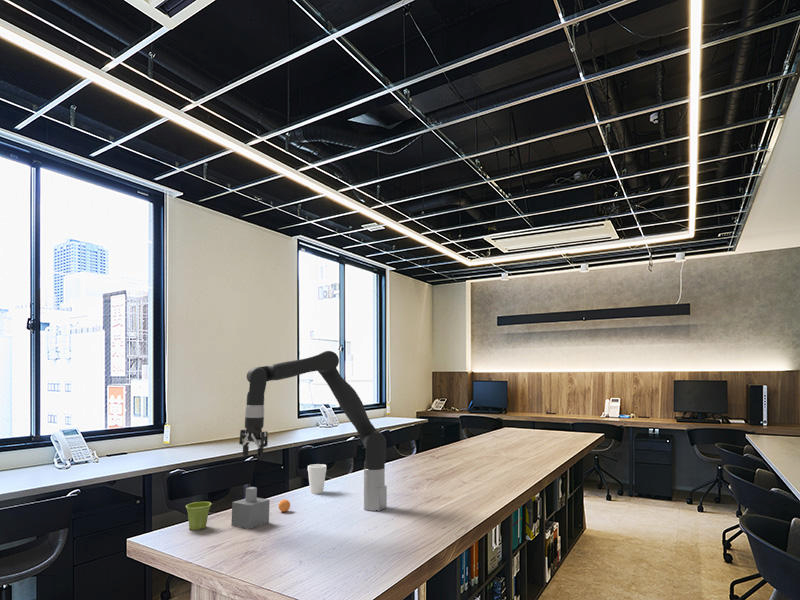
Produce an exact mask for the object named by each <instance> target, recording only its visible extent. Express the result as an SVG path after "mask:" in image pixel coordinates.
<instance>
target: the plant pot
mask: <svg viewBox="0 0 800 600" xmlns="http://www.w3.org/2000/svg"><path fill="white" fill-rule="evenodd" d="M211 506H212V503H211V501H195V502H191V503H188V504H185V508H186V511H187V519H188V528H189V530H192V531H198V530H201V529H205V528H206V527H207V523H208V517H209V512H210V509H211Z"/></svg>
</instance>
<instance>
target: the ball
mask: <svg viewBox="0 0 800 600" xmlns="http://www.w3.org/2000/svg"><path fill="white" fill-rule="evenodd" d="M278 509H279V511H281V512H283V513H285V512H288V511H289V510H290V509H291V502H290V501H289V500H288V499H282V500H281V501H279V503H278Z"/></svg>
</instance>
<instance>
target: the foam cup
mask: <svg viewBox="0 0 800 600" xmlns="http://www.w3.org/2000/svg"><path fill="white" fill-rule="evenodd" d="M307 472H308V483H309V493H310V494H311V493H312V495H319V494H320V493H321V494H324V488H325V483H326V482H325V480H326V474H327V464H324V463H322V464H320V463H316V464H315V463H314V464H309V465H307Z"/></svg>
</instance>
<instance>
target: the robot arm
mask: <svg viewBox="0 0 800 600" xmlns="http://www.w3.org/2000/svg"><path fill="white" fill-rule="evenodd" d="M339 363H340V358H339V356H338V354H337V353H335V352H334V351H331V350H324V351H322V352H320V353H319V354H317V355H313V356H311V357H306V358H300V359H294V360H290V361H289V360H288V361H283V362H278V363H275V364H271V365H270V364H269V365H264V366H257V367H253V368H250V369H249V370H248V371H247V373H246V380H247V381H248V383H249V388H248V392H247V395H246V405H245V411H244V412H245V414H244V416H245V417H244V428H245V429H240V433H239V442H238V443H239V445H241V446H242V456H244V457H248V455H249V445H250V444H251V442H253V443H254V444H255V445H256V447H257V453H256V457H257V459H261V458H263V456H264V448H266V447H268V431H263V428H264V425H265V424H264V422H265V394H266V393H265V392H266V387H267V383H268V382H271V381H280V380H285V379H289V378H294V377H297V376H301V375H303V374H307V373H313V372H318V374H320V376H321V377H322V378H323V380H324V381H325V382H326V384H327V386H328V387H329V389H330V390H331V393H332V394H333V396H334V398H335V400H336V402H337V403H338V405H339V406H340V408H341V410H342V412H343V413H344V415H345V416H346V417H347V418H348V420H349V421H350V423H352V425H353V427H354V428H355V429H356V432H357V434H358V436H359V438H360V440H361V442H362V445H363V447H364V448H365V458H364V462H363V509H364V510H365V511H369V510H370V511H371V512H380V511H383V510H385V509H387V505H388V502H387V499H388V498H387V497H388V496H387V495H388V491H387V485H386V481H385V474H386V473H385V470H386V467H385V465H386V461H387V440H386V437H385V435H384V434H383V433H381V432H379V431H378V430H377V429H376V427H375V426H374V425H373V423H372V422H371V421H370V418H369V417H368V414H367V411H366V409H365V406H364V404H363V402H362V400H361V398H360V397H359V395H358V393H357V392H356V390H355V389H354V388H353V386H352V385H351V384H350V383H348V382H347V381H346V380H345V379H344V378H343V377H342V375H341V374H340V372H339V370H338V369H337V368H338V365H339ZM384 508H385V509H384ZM382 509H383V510H382ZM376 510H377V511H376ZM370 511H369V512H370Z"/></svg>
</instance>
